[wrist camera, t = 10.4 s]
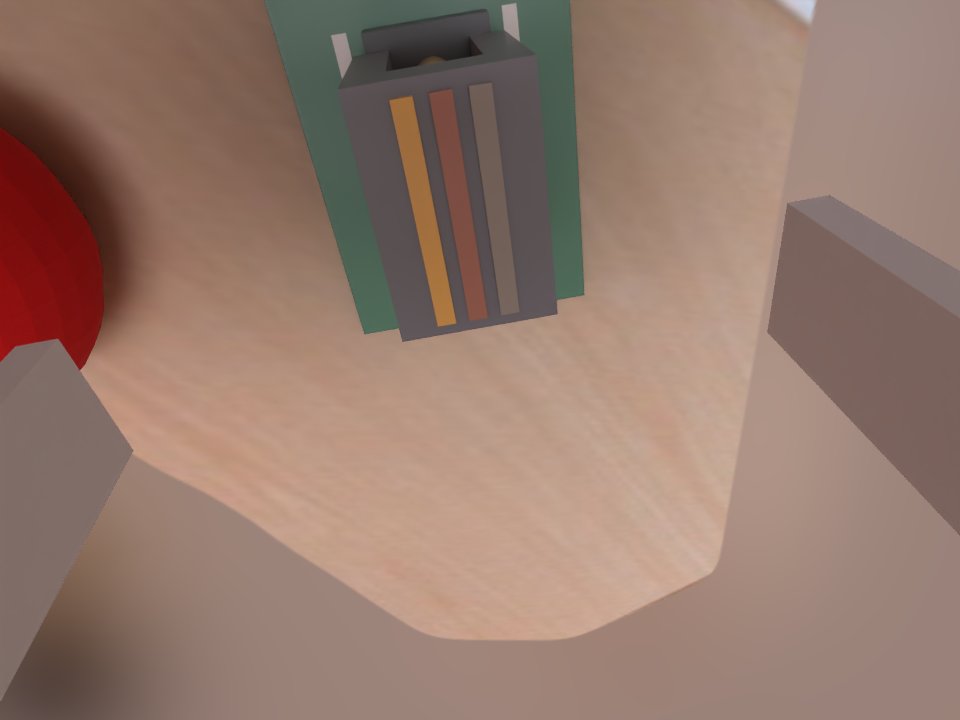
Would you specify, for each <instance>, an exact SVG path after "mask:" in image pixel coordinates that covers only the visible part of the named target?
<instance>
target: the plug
mask: <svg viewBox="0 0 960 720" xmlns="http://www.w3.org/2000/svg"><path fill="white" fill-rule="evenodd" d="M469 40H470V47H471V54H472V56H471V57H466V58H460V59H454V60H449V61H443V62H437V63H432V64H426V65H420V66H415V67H409V68H403V69H398V70H393V69H392V64H391V59H390V54H389V50H388V51H382V52H377V53H371V54H365V55H360V56H354V57H353V59H352V61H351V63H350V65H349V67H348V69H347V71H346V73H345V75H344V77H343V79H342V81H341V83H340V85H339V87H338V89H337V91H338V95H339V98H340V102H341V106H342V110H343V114H344V118H345V122H346V125H347V129H348V133H349V137H350V141H351V145H352V149H353V152H354V156H355V160H356V164H357V168H358V172H359V176H360V179H361V183H362V187H363V191H364V195H365V199H366V202H367V206H368V210H369V214H370V218H371V222H372V226H373V229H374V233H375V237H376V241H377V245H378V249H379V253H380V256H381V260H382V264H383V268H384V272H385V276H386V280H387V283H388V287H389V291H390V295H391V299H392V303H393V307H394V310H395V314H396V318H397V322H398V326H399V330H400V333H401V337H402V341H403V342H404V341H410V340H415V339H421V338H427V337H432V336H438V335H443V334H449V333H454V332H460V331H466V330H471V329H477V328H482V327H488V326H494V325H499V324H505V323H510V322H516V321H522V320H527V319H533V318H538V317H544V316H550V315H555V314H557V301H556V289H555V276H554V264H553V251H552V239H551V226H550V214H549V201H548V189H547V176H546V164H545V151H544V139H543V126H542V114H541V101H540V89H539V76H538V64H537V54H535V53H534V52H533V51H531V50H530V49H529V48H527V47H526V46H525V45H523V44H522V43H521V42H519V41H518V40H517V39H515V38H514V37H513V36H511V35H510V34H509V33H507V32H506V31H505V30H502V31H496V32H490V33H485V34H479V35H473V36H469Z"/></svg>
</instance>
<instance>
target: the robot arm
mask: <svg viewBox="0 0 960 720" xmlns="http://www.w3.org/2000/svg"><path fill="white" fill-rule="evenodd" d="M768 333H769V334H770V335H771V337H772V338H773V339H774V340H775V341H776V342H777V343H778V344H779V345H780V346H781V347H782V348H783V349H784V350H785V351H786V352H787V353H788V354H789V355H790V357H791V358H792V359H793V360H794V361H795V362H796V363H797V364H798V365H799V366H800V367H801V368H802V369H803V370H804V371H805V372H806V374H807V375H808V376H809V377H810V378H811V379H812V380H813V381H814V382H815V383H816V384H817V385H818V386H819V387H820V388H821V389H822V390H823V391H824V393H826V395H827V396H828V397H829V398H830V399H831V400H832V401H833V402H834V403H835V404H836V405H837V406H838V407H839V408H840V409H841V410H842V411H843V413H844V414H845V415H846V416H847V417H848V418H849V419H850V420H851V421H852V422H853V423H854V424H855V425H856V426H857V427H858V428H859V429H860V430H861V432H863V434H864V435H865V436H866V437H867V438H868V439H869V440H870V441H871V442H872V443H873V444H874V445H875V446H876V447H877V448H878V450H880V452H881V453H882V454H883V455H884V456H885V457H886V458H887V459H888V460H889V461H890V462H891V463H892V464H893V465H894V466H895V467H896V468H897V470H898V471H899V472H900V473H901V474H902V475H903V476H904V477H905V478H906V479H907V480H908V481H909V482H910V483H911V484H912V485H913V486H914V487H915V488H916V490H917V491H918V492H919V493H920V494H921V495H922V496H923V497H924V498H925V499H926V500H927V501H928V502H929V503H930V504H931V505H932V507H933V508H934V509H935V510H936V511H937V512H938V513H939V514H940V515H941V516H942V517H943V518H944V519H945V520H946V521H947V522H948V523H949V524H950V525H951V527H952V528H953V529H954V530H955V531H956V532H957V533H958V534H959V535H960V271H959V270H957V269H956V268H954V267H952V266H950V265H949V264H947V263H945V262H944V261H942V260H940V259H938V258H937V257H935V256H933V255H932V254H930V253H928V252H926V251H925V250H923V249H921V248H920V247H918V246H916V245H914V244H913V243H911V242H909V241H908V240H906V239H904V238H902V237H901V236H899V235H897V234H895V233H894V232H892V231H890V230H888V229H887V228H885V227H884V226H881V225H880V224H878V223H877V222H875V221H873V220H871V219H869V218H868V217H866V216H865V215H863V214H861V213H859V212H858V211H856V210H854V209H853V208H851V207H849V206H847V205H845V204H844V203H842V202H841V201H839V200H837V199H835V198H834V197H832V196H830V195H829V196H823V197H817V198H812V199H807V200H801V201H796V202H791V203H787V209H786V215H785V222H784V229H783V235H782V241H781V248H780V254H779V260H778V267H777V273H776V280H775V286H774V293H773V299H772V306H771V312H770V319H769V325H768ZM132 452H133V449H132V448H131V446H130V445H129V443H128V442H127V440H126V439H125V437H124V436H123V434H122V433H121V431H120V430H119V428H118V427H117V425H116V424H115V422H114V421H113V419H112V418H111V416H110V415H109V413H108V412H107V410H106V409H105V408H104V406H103V405H102V403H101V402H100V400H99V399H98V397H97V396H96V394H95V393H94V391H93V390H92V388H91V387H90V385H89V384H88V382H87V381H86V379H85V378H84V376H83V375H82V373H81V372H80V370H79V369H78V367H77V366H76V364H75V363H74V361H73V360H72V358H71V357H70V355H69V354H68V353H67V351H66V350H65V348H64V347H63V345H62V344H61V342H60V341H59V339H53V340H48V341H43V342H37V343H32V344H27V345H21V346H16V347H15V348H14V349H13V350H12V351H11V352H10V353H9V354H8V355H7V356H6V357H5V358H4V359H3V360H2V361H1V362H0V701H1V699H2V697H3V696H4V694H5V692H6V690H7V688H8V686H9V684H10V682H11V680H12V678H13V677H14V675H15V673H16V671H17V669H18V667H19V665H20V664H21V662H22V660H23V658H24V656H25V654H26V652H27V650H28V648H29V646H30V645H31V643H32V641H33V639H34V637H35V635H36V633H37V631H38V630H39V628H40V626H41V624H42V622H43V620H44V618H45V616H46V614H47V613H48V611H49V609H50V607H51V605H52V603H53V601H54V599H55V597H56V596H57V594H58V592H59V590H60V588H61V586H62V584H63V582H64V580H65V579H66V577H67V575H68V573H69V571H70V569H71V567H72V565H73V563H74V562H75V560H76V558H77V556H78V554H79V552H80V550H81V548H82V546H83V545H84V543H85V541H86V539H87V537H88V535H89V533H90V531H91V530H92V528H93V526H94V524H95V522H96V520H97V518H98V516H99V514H100V512H101V511H102V509H103V507H104V505H105V503H106V501H107V499H108V497H109V496H110V494H111V492H112V490H113V488H114V486H115V484H116V482H117V480H118V479H119V477H120V475H121V473H122V471H123V469H124V467H125V465H126V463H127V462H128V460H129V458H130V456H131V454H132Z"/></svg>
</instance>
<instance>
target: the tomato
mask: <svg viewBox="0 0 960 720" xmlns="http://www.w3.org/2000/svg"><path fill="white" fill-rule="evenodd" d="M103 311H104V300H103V269H102V263H101V258H100V253H99V247H98V245H97V242H96V240H95V238H94V235H93V233H92V231H91V228H90V226H89V224H88V222H87V220H86V219H85V217H84V216H83V214H82V213H81V211H80V210H79V208H78V207H77V205H76V204H75V202H74V201H73V199H72V198H71V196H70V195H69V194H68V192H67V191H66V190H65V189H64V187H63V186H62V185H61V183H60V182H59V181H58V179H57V178H56V177H55V176H54V174H53V173H52V172H51V171H50V170H49V169H48V168H47V167H46V166H45V165H44V164H43V162H42V161H41V160H40V159H39V158H38V157H37V156H36V155H35V154H34V153H33V152H32V151H31V150H30V149H28V148H27V147H26V146H25V145H23V144H22V143H21V142H20V141H18V140H17V139H16V138H14V137H13V136H12V135H11V134H9V133H8V132H7V131H5V130H3V129H2V128H0V362H1V361H2V360H3V359H4V358H5V357H6V356H7V355H8V354H9V353H10V352H11V351H12V350H13V349H14V348H15V347H16V346H21V345H27V344H32V343H37V342H43V341H48V340H53V339H59V341H60V342H61V344H62V345H63V347H64V348H65V350H66V351H67V353H68V354H69V355H70V357H71V358H72V360H73V361H74V363H75V364H76V366H77V367H78V369H79V370H81V368H82V367H83V366H84V365H85V363H86V361H87V359H88V357H89V355H90V353H91V351H92V349H93V347H94V345H95V342H96V339H97V336H98V334H99V331H100V328H101V322H102V316H103Z"/></svg>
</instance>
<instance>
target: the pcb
mask: <svg viewBox="0 0 960 720" xmlns="http://www.w3.org/2000/svg"><path fill="white" fill-rule="evenodd" d="M264 2H265V5H266V8H267V12H268V15H269V18H270V22H271V25H272V28H273V32H274V35H275V38H276V42H277V45H278V48H279V52H280V55H281V58H282V61H283V65H284V68H285V71H286V75H287V78H288V81H289V85H290V88H291V91H292V95H293V98H294V101H295V105H296V108H297V111H298V115H299V118H300V121H301V125H302V128H303V131H304V135H305V138H306V141H307V145H308V148H309V151H310V155H311V158H312V161H313V165H314V168H315V171H316V175H317V178H318V181H319V185H320V188H321V191H322V195H323V198H324V201H325V205H326V208H327V211H328V215H329V218H330V221H331V225H332V228H333V231H334V235H335V238H336V241H337V245H338V248H339V251H340V255H341V258H342V261H343V264H344V268H345V271H346V274H347V278H348V281H349V284H350V288H351V291H352V294H353V298H354V301H355V304H356V308H357V311H358V314H359V318H360V321H361V324H362V328H363V331H364V334H369V333H374V332H380V331H386V330H391V329H397V328H399V326H398V322H397V318H396V314H395V310H394V307H393V303H392V299H391V295H390V291H389V287H388V283H387V280H386V276H385V272H384V268H383V264H382V260H381V256H380V253H379V249H378V245H377V241H376V237H375V233H374V229H373V226H372V222H371V218H370V214H369V210H368V206H367V202H366V199H365V195H364V191H363V187H362V183H361V179H360V176H359V172H358V168H357V164H356V160H355V156H354V152H353V149H352V145H351V141H350V137H349V133H348V129H347V125H346V122H345V118H344V114H343V110H342V106H341V102H340V98H339V95H338V91H337V89H338V87H339V85H340V83H341V81H342V79H343V77H344V75H345V73H346V71H347V69H348V67H349V65H350V63H351V61H352V59H353V57H354V56H360V55H365V54H371V53H377V52H382V51H388V50H389V54H390V59H391V64H392V69H393V70H398V69H403V68H409V67H415V66H420V65H426V64H432V63H437V62H443V61H449V60H454V59H460V58H466V57H471V56H472V54H471V47H470V40H469V36H473V35H479V34H485V33H490V32H496V31H502V30H505V31H506V32H507V33H509V34H510V35H511V36H513V37H514V38H515V39H517V40H518V41H519V42H521V43H522V44H523V45H525V46H526V47H527V48H529V49H530V50H531V51H533V52H534V53H535V54H537V64H538V76H539V89H540V101H541V114H542V126H543V139H544V151H545V164H546V176H547V189H548V201H549V214H550V226H551V239H552V251H553V264H554V276H555V289H556V300H559V299H565V298H570V297H576V296H582V295H584V279H583V259H582V239H581V218H580V198H579V177H578V157H577V137H576V116H575V96H574V75H573V55H572V35H571V14H570V0H264Z"/></svg>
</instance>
